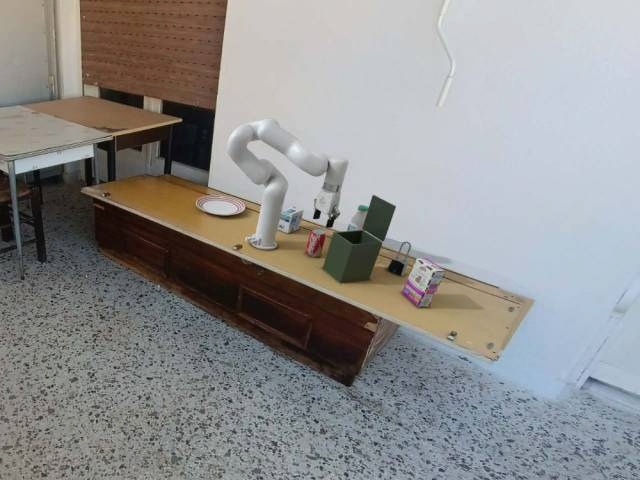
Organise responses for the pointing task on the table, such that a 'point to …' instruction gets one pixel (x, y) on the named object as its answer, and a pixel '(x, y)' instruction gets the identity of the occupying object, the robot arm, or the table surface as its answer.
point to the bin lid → (378, 217)
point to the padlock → (399, 263)
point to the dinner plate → (220, 205)
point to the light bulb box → (290, 219)
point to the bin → (352, 255)
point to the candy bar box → (423, 282)
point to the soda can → (315, 242)
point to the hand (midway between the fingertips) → (322, 223)
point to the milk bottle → (358, 219)
